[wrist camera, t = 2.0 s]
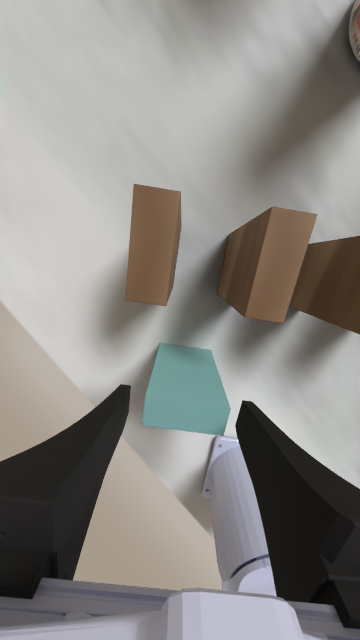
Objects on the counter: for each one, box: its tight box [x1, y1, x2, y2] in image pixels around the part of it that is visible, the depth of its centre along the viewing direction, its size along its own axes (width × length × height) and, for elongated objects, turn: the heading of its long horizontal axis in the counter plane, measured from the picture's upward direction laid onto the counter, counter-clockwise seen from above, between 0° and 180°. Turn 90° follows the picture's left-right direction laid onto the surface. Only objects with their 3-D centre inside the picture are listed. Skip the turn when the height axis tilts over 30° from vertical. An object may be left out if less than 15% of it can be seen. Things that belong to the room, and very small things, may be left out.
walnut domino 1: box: [126, 184, 181, 306], centre depth 13 cm, size 2×5×8 cm, turn 172°
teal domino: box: [142, 343, 230, 436], centre depth 15 cm, size 2×5×8 cm, turn 81°
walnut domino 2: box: [217, 207, 317, 323], centre depth 13 cm, size 2×5×8 cm, turn 172°
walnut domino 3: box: [289, 236, 360, 334], centre depth 13 cm, size 2×5×8 cm, turn 171°
